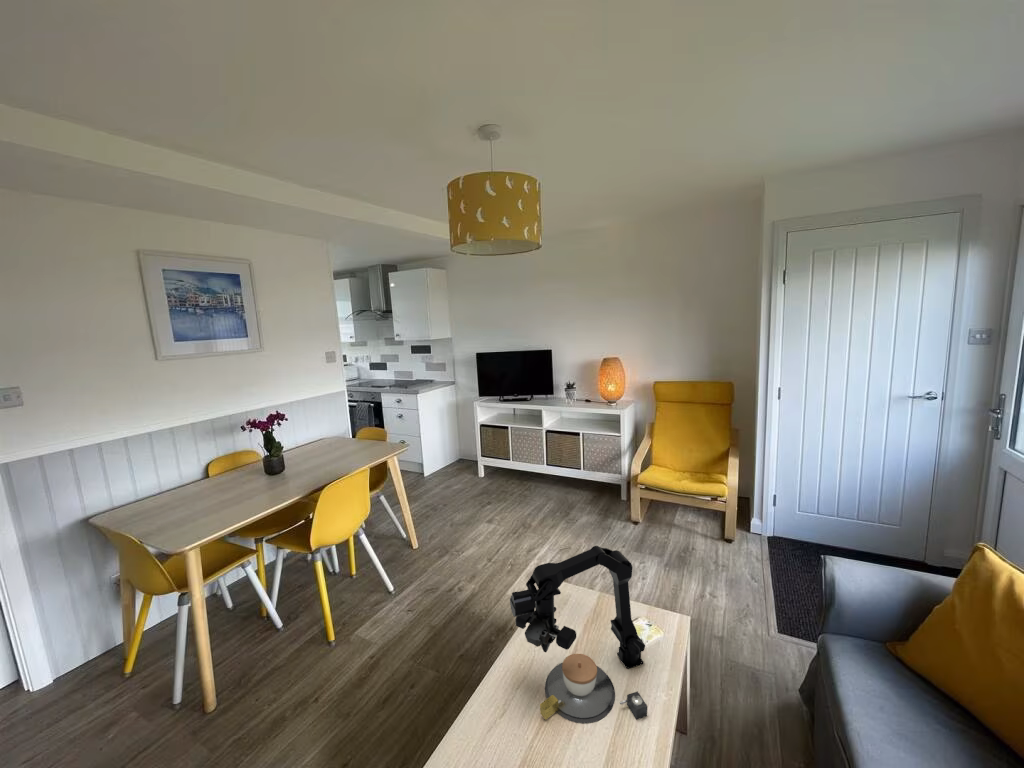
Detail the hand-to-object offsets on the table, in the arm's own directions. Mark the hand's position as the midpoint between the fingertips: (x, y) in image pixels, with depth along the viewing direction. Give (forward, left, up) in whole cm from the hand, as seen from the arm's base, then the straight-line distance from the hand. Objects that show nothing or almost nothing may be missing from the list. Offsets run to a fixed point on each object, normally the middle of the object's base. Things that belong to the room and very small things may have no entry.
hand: (545, 651), depth 133 cm
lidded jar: (-9, +5, -12) cm, 16 cm away
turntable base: (-9, +5, -12) cm, 16 cm away
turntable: (-7, +6, -12) cm, 15 cm away
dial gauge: (-21, +17, -12) cm, 29 cm away
